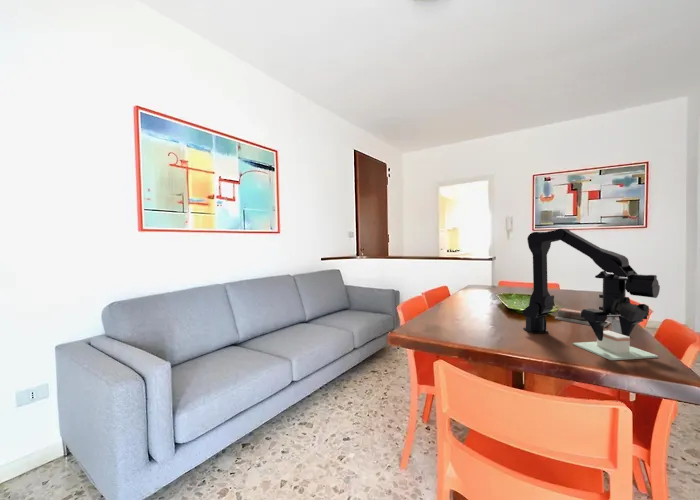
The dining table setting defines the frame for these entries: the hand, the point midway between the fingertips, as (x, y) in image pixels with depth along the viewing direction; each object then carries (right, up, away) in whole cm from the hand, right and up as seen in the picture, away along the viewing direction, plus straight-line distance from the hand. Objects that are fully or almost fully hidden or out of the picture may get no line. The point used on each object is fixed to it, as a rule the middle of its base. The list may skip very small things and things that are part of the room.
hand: (612, 339), depth 101 cm
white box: (0, -3, 0) cm, 3 cm away
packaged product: (+16, -3, +35) cm, 39 cm away
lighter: (+18, -3, +20) cm, 27 cm away
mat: (0, -4, 0) cm, 4 cm away
